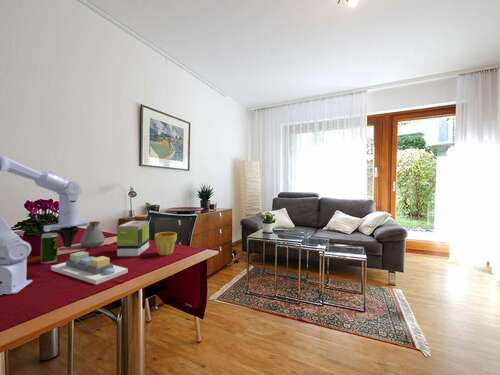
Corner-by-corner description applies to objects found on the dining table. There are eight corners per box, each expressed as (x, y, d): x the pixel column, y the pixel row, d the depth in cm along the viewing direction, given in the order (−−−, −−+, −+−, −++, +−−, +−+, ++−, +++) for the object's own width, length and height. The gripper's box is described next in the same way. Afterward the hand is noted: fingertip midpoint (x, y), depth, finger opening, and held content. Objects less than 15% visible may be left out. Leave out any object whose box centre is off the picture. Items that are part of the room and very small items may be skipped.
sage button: (88, 260, 91) (88, 252, 91) (76, 263, 87) (76, 255, 87) (82, 258, 93) (82, 251, 93) (69, 261, 89) (70, 254, 89)
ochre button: (109, 265, 86) (109, 257, 86) (97, 269, 82) (97, 261, 82) (102, 263, 88) (102, 256, 88) (90, 267, 84) (90, 259, 84)
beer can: (39, 264, 93) (39, 235, 93) (42, 260, 97) (42, 233, 97) (56, 262, 96) (56, 234, 96) (58, 258, 100) (58, 232, 100)
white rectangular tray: (127, 272, 87) (127, 263, 87) (95, 284, 76) (96, 274, 76) (83, 260, 99) (84, 253, 99) (50, 269, 88) (50, 261, 88)
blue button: (98, 265, 89) (98, 258, 89) (86, 269, 85) (86, 261, 85) (91, 263, 90) (91, 256, 90) (79, 267, 86) (79, 259, 86)
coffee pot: (80, 244, 124) (80, 217, 124) (104, 242, 130) (105, 216, 130) (77, 255, 106) (78, 223, 106) (106, 251, 113) (106, 221, 113)
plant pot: (158, 258, 105) (159, 237, 105) (151, 252, 113) (151, 233, 113) (179, 254, 112) (180, 234, 112) (171, 249, 120) (171, 231, 120)
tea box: (130, 247, 121) (130, 220, 121) (149, 247, 122) (150, 220, 122) (116, 256, 106) (116, 225, 106) (138, 256, 107) (138, 225, 107)
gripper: (51, 214, 79) (50, 253, 79) (94, 210, 92) (93, 243, 92) (40, 213, 82) (40, 250, 82) (83, 209, 95) (83, 241, 95)
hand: (67, 246), depth 87 cm, fingers closed
